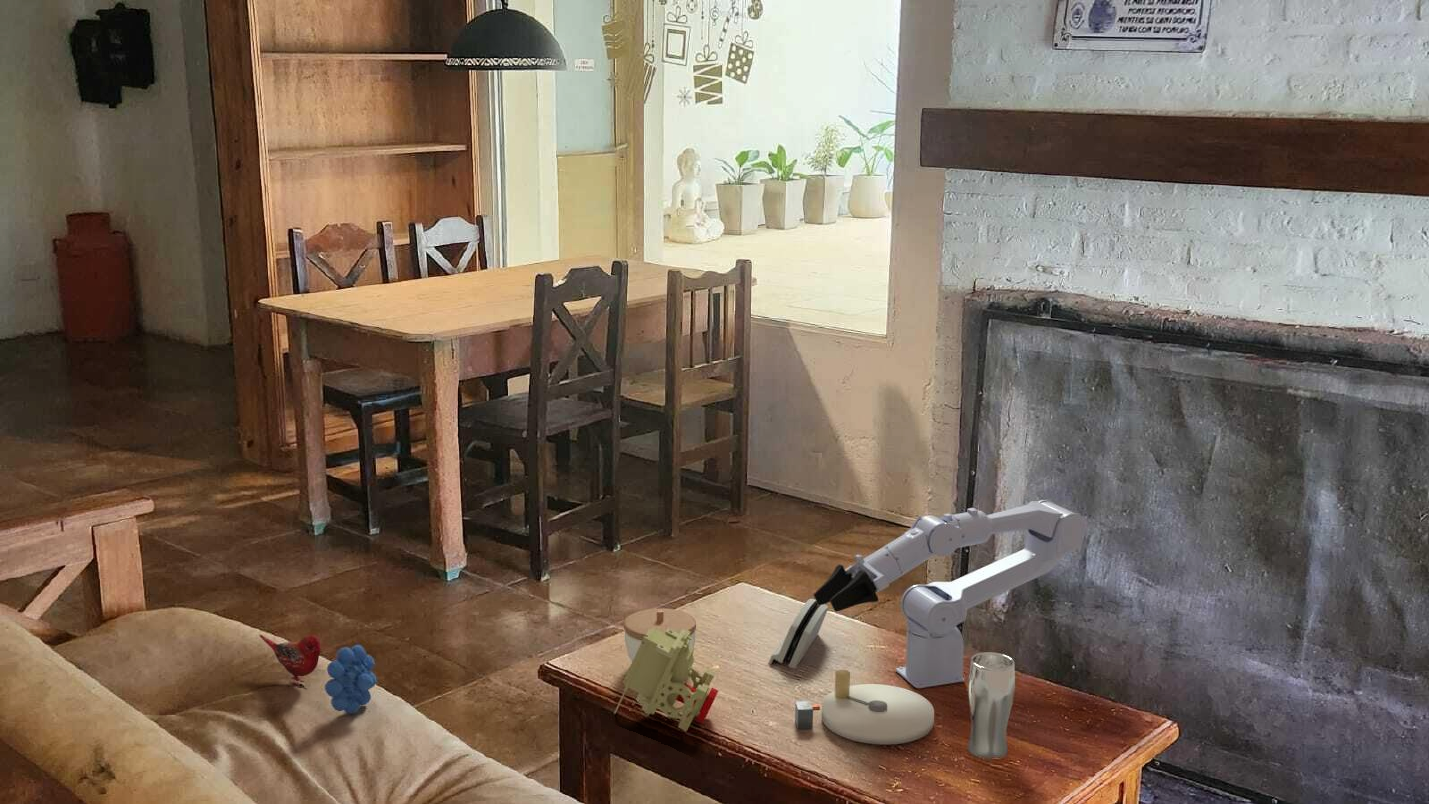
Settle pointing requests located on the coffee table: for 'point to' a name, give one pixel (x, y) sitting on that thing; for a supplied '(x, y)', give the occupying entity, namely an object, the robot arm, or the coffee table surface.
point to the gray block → (804, 714)
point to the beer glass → (990, 703)
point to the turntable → (876, 712)
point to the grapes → (350, 679)
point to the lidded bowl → (655, 626)
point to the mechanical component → (669, 677)
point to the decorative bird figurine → (297, 655)
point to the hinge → (801, 634)
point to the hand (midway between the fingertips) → (824, 603)
